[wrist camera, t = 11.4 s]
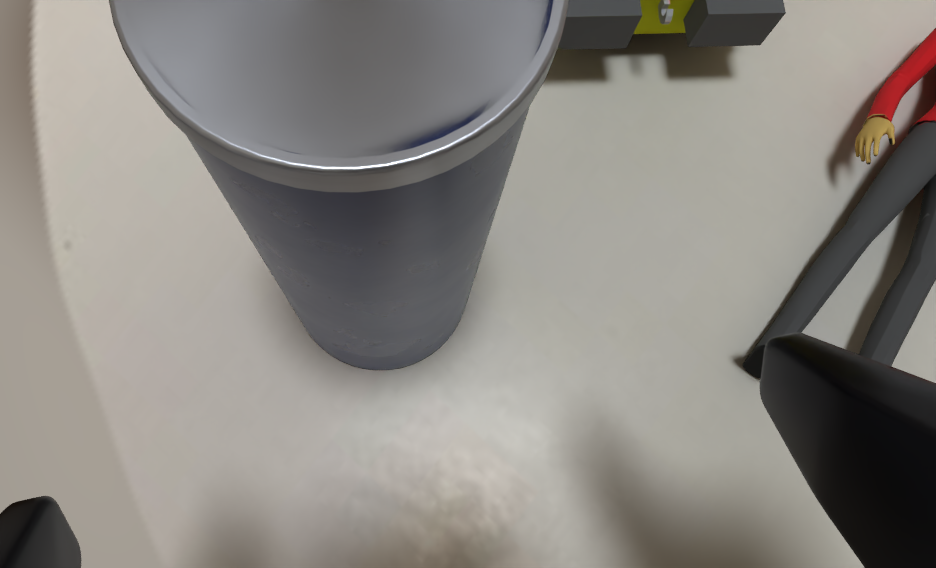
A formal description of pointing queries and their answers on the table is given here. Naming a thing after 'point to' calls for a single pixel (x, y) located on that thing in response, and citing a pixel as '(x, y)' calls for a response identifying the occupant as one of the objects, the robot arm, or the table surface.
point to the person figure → (878, 224)
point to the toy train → (669, 21)
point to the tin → (354, 144)
